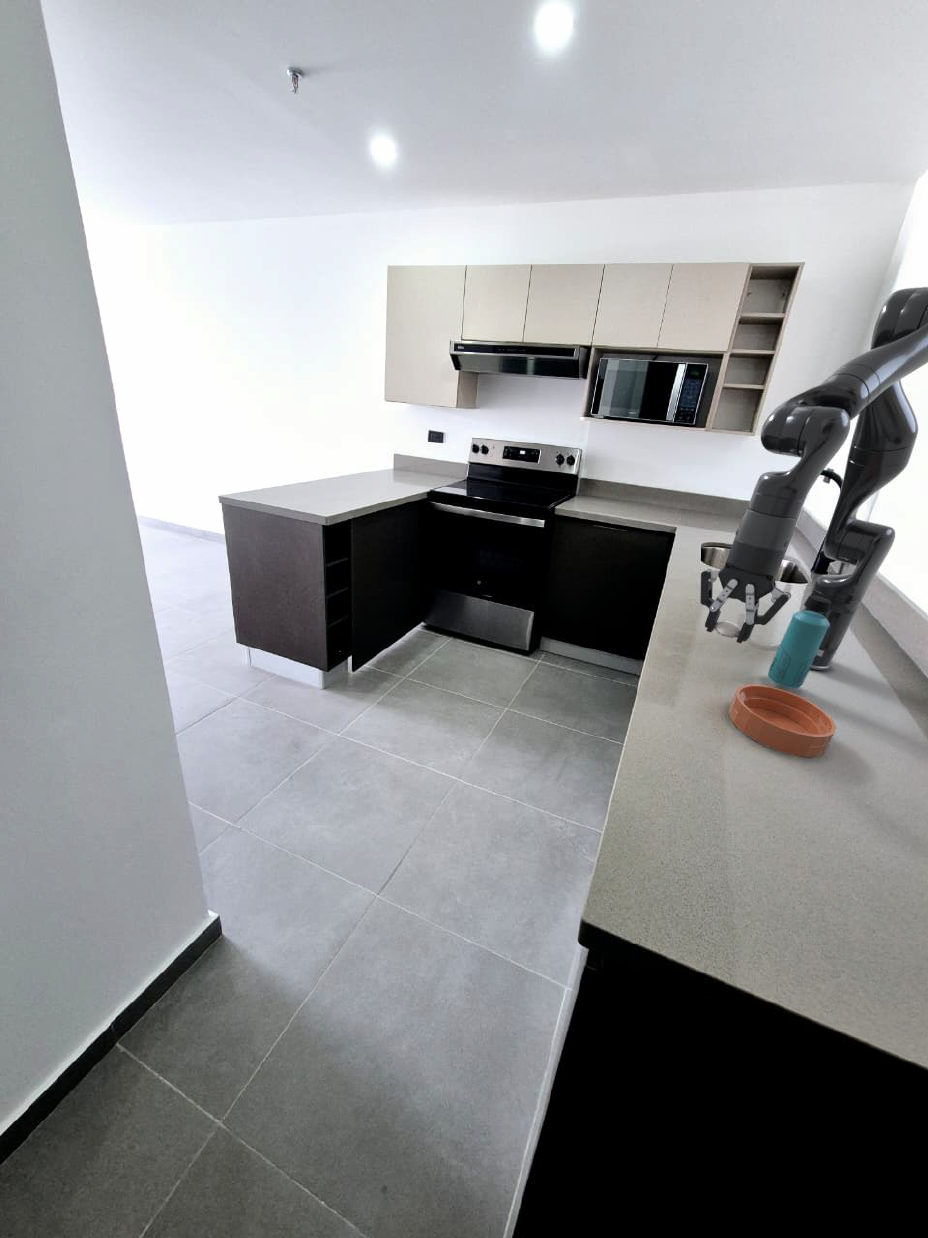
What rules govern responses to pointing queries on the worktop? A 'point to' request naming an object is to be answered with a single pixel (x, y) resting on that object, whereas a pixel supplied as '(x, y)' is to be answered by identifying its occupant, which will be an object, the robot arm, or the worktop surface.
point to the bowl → (781, 720)
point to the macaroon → (727, 629)
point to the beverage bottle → (800, 644)
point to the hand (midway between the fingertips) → (724, 635)
